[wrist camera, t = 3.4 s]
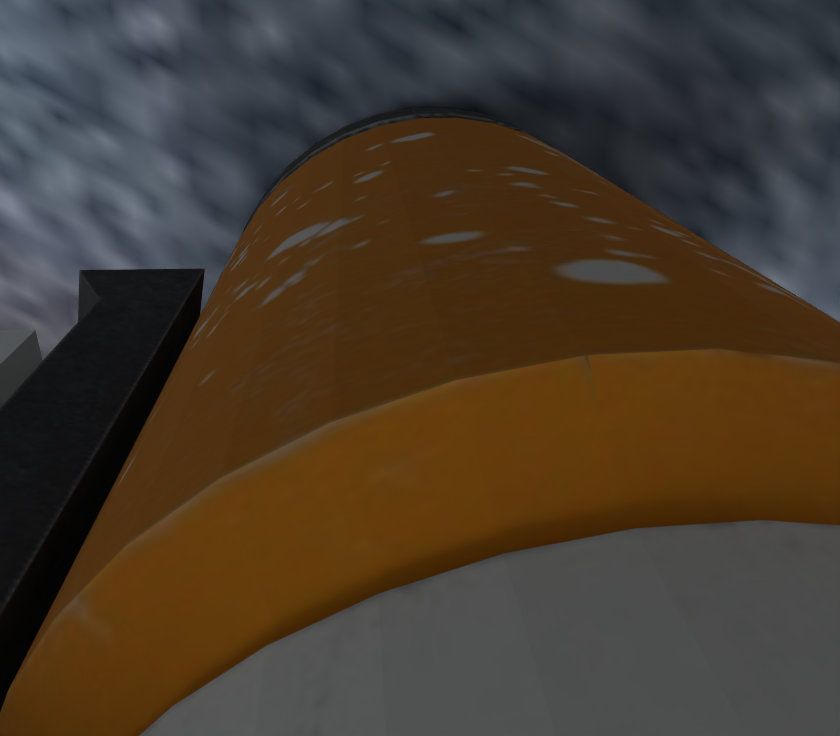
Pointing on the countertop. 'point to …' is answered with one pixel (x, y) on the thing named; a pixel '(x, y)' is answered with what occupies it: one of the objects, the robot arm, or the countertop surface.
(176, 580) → the canister
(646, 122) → the countertop surface
